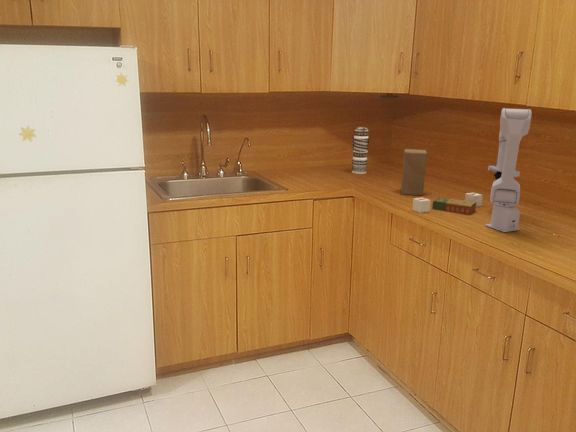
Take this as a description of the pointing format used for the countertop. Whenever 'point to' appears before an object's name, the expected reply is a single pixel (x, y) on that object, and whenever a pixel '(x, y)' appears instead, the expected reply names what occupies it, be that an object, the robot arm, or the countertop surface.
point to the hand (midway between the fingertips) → (500, 190)
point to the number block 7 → (474, 198)
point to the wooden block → (413, 172)
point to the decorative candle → (360, 150)
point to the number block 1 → (421, 205)
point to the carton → (454, 205)
